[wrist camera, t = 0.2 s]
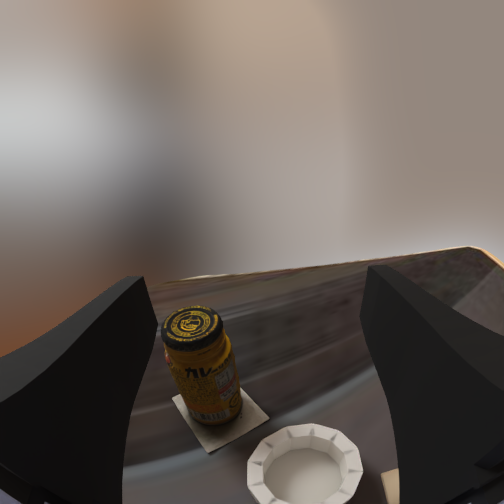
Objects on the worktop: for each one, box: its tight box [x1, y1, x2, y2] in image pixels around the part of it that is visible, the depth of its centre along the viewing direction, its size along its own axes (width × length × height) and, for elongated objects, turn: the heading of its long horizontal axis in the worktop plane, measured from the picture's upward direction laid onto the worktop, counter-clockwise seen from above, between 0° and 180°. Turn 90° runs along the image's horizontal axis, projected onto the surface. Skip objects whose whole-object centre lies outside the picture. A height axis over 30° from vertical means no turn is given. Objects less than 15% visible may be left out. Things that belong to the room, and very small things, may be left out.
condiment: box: [161, 306, 270, 453], centre depth 25 cm, size 7×8×12 cm
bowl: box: [247, 423, 363, 504], centre depth 18 cm, size 9×9×4 cm
